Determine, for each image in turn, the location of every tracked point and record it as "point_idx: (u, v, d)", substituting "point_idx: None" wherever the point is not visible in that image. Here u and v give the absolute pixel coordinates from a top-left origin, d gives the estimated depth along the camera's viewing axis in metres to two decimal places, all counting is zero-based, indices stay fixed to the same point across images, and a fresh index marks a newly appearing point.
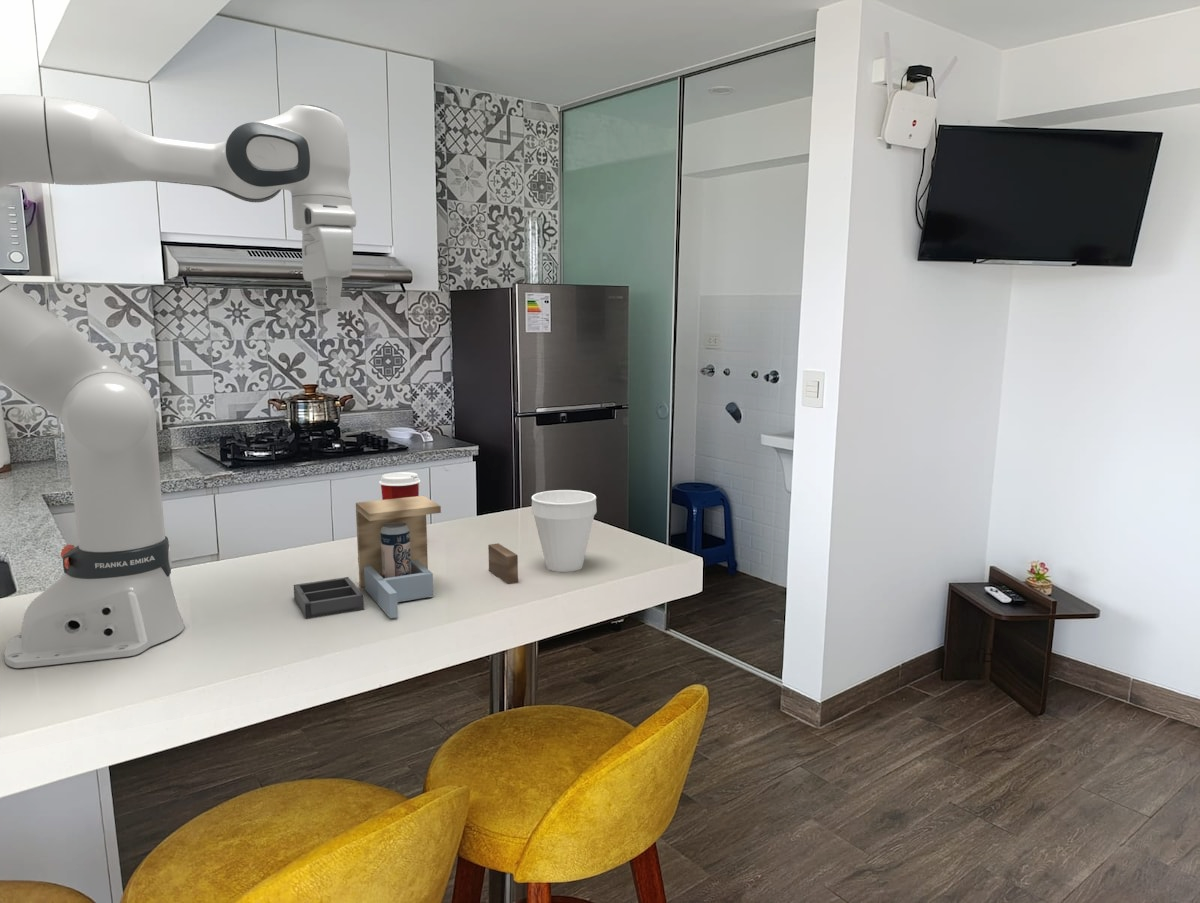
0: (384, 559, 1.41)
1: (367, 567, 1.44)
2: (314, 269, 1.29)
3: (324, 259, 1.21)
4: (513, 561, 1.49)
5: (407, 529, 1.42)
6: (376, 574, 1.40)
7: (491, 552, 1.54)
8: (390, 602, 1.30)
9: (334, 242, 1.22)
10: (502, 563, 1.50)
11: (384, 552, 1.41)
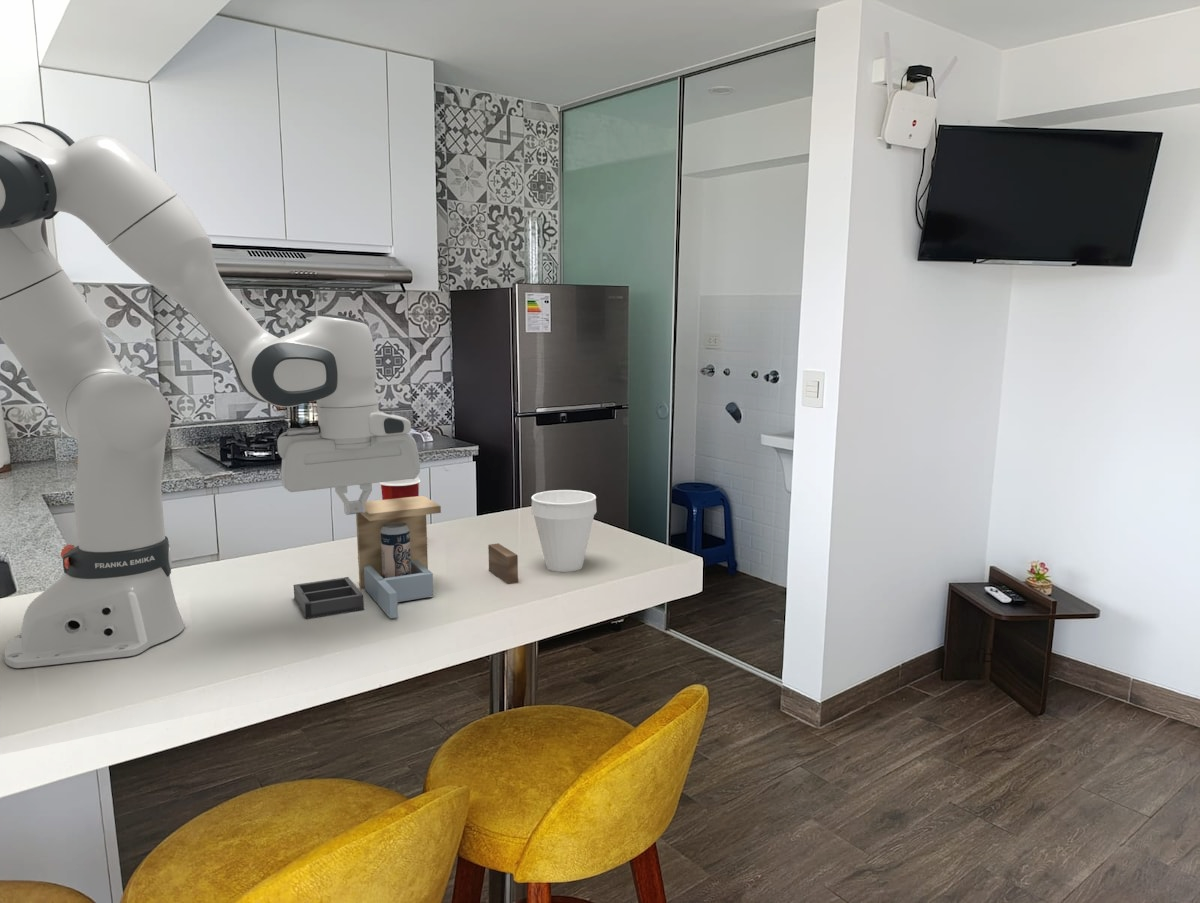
0: (384, 559, 1.41)
1: (367, 567, 1.44)
2: (360, 476, 1.26)
3: (418, 463, 1.30)
4: (513, 561, 1.49)
5: (407, 529, 1.42)
6: (376, 574, 1.40)
7: (491, 552, 1.54)
8: (390, 602, 1.30)
9: None
10: (502, 563, 1.50)
11: (384, 552, 1.41)
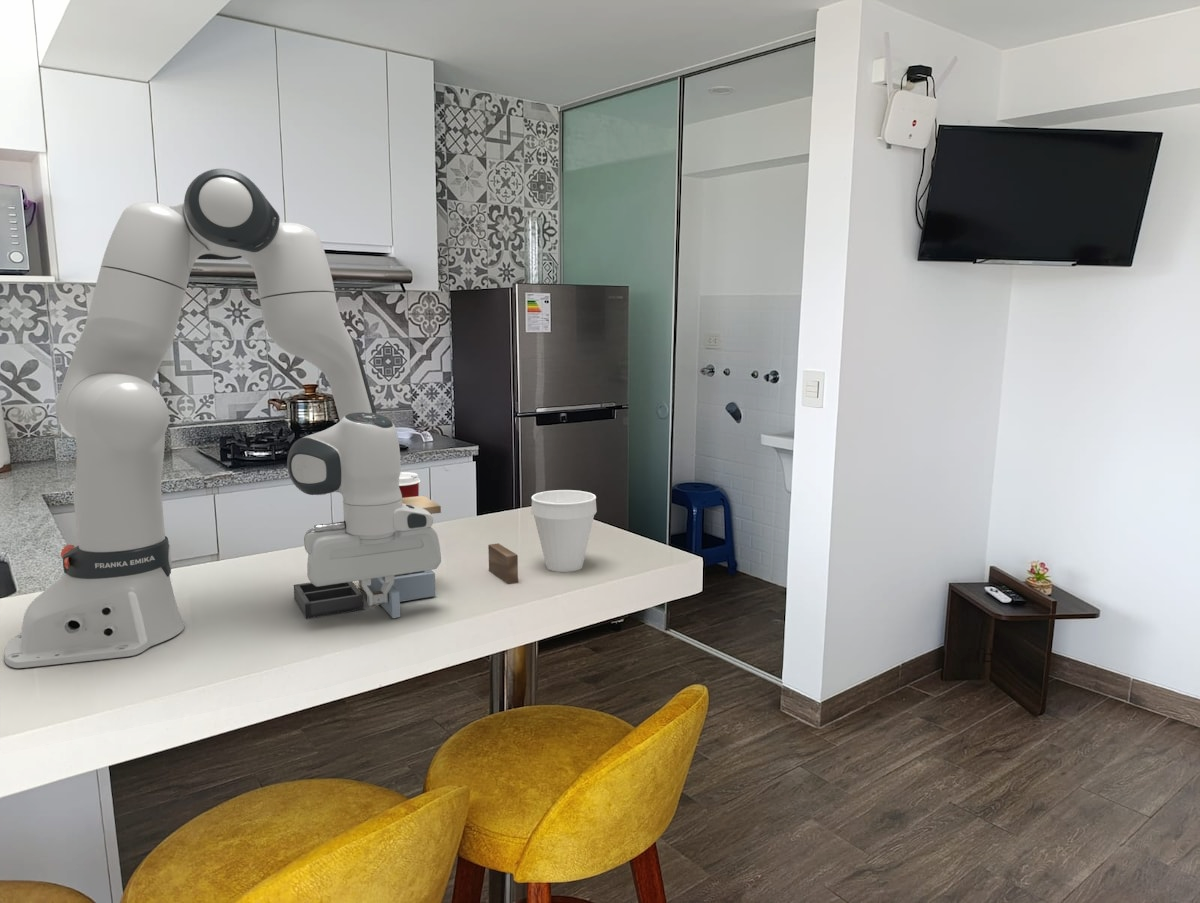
0: None
1: None
2: (383, 568, 1.30)
3: (439, 555, 1.33)
4: (513, 561, 1.49)
5: None
6: None
7: (491, 552, 1.54)
8: (392, 602, 1.30)
9: None
10: (502, 563, 1.50)
11: None
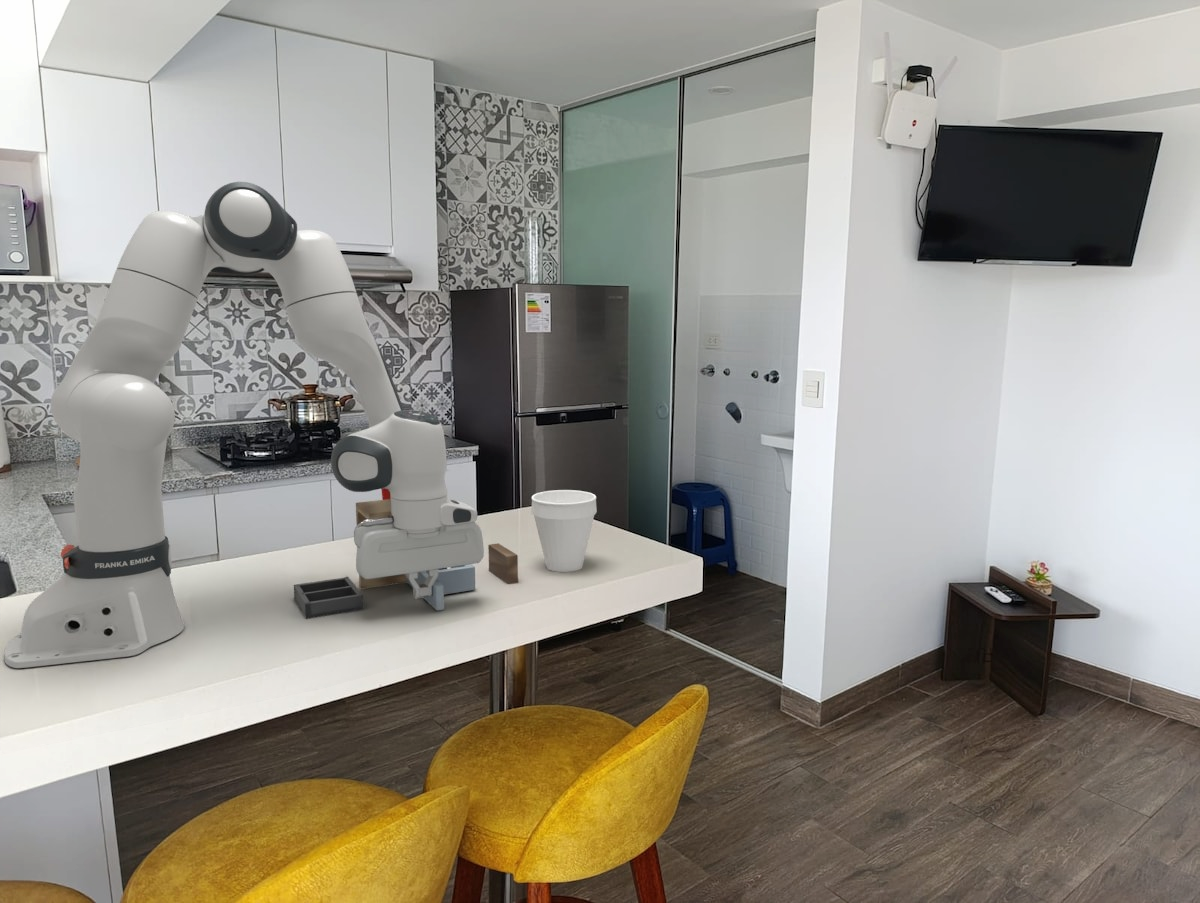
0: None
1: None
2: (429, 562, 1.33)
3: (482, 549, 1.37)
4: (513, 561, 1.49)
5: None
6: None
7: (491, 552, 1.54)
8: (437, 594, 1.34)
9: None
10: (502, 563, 1.50)
11: None
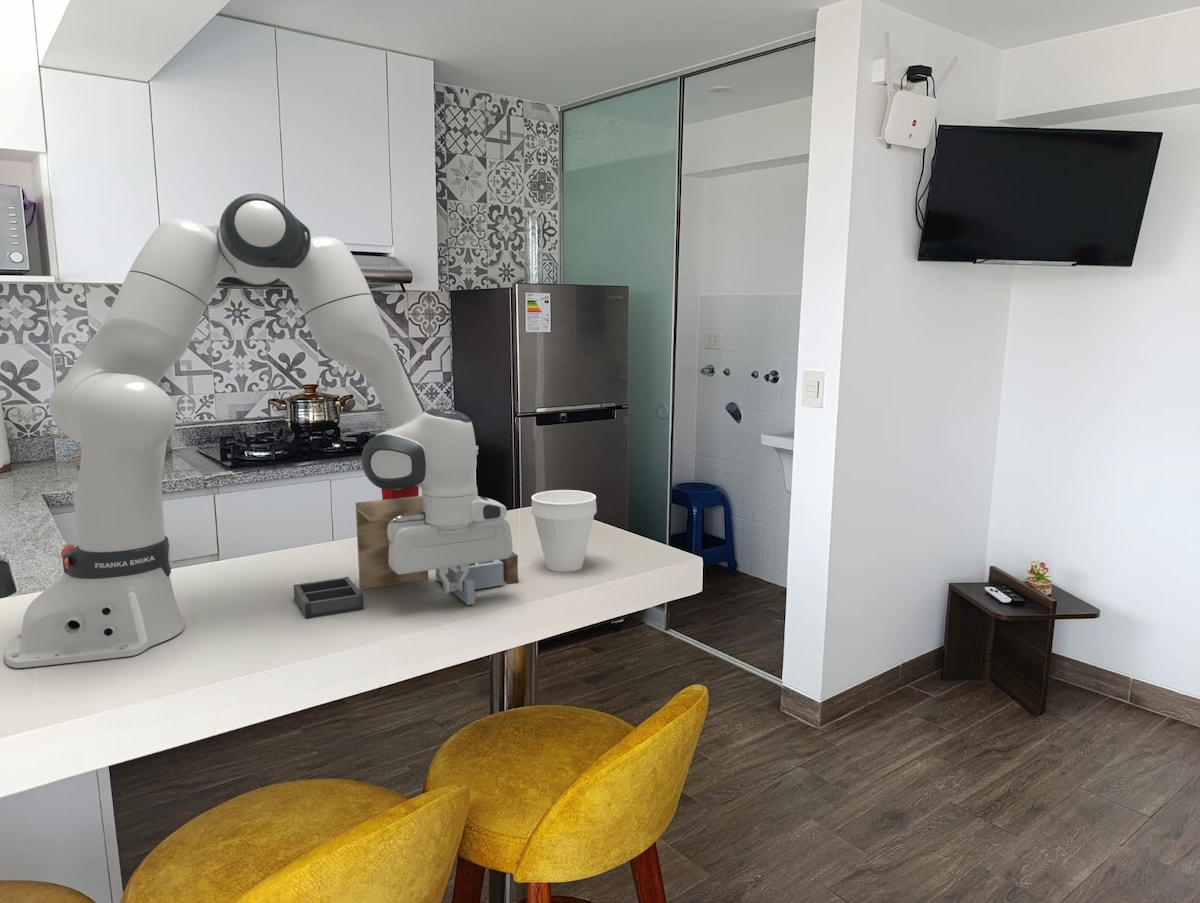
0: None
1: None
2: (460, 558, 1.35)
3: (511, 545, 1.39)
4: (513, 561, 1.49)
5: None
6: None
7: None
8: (468, 589, 1.36)
9: None
10: None
11: None
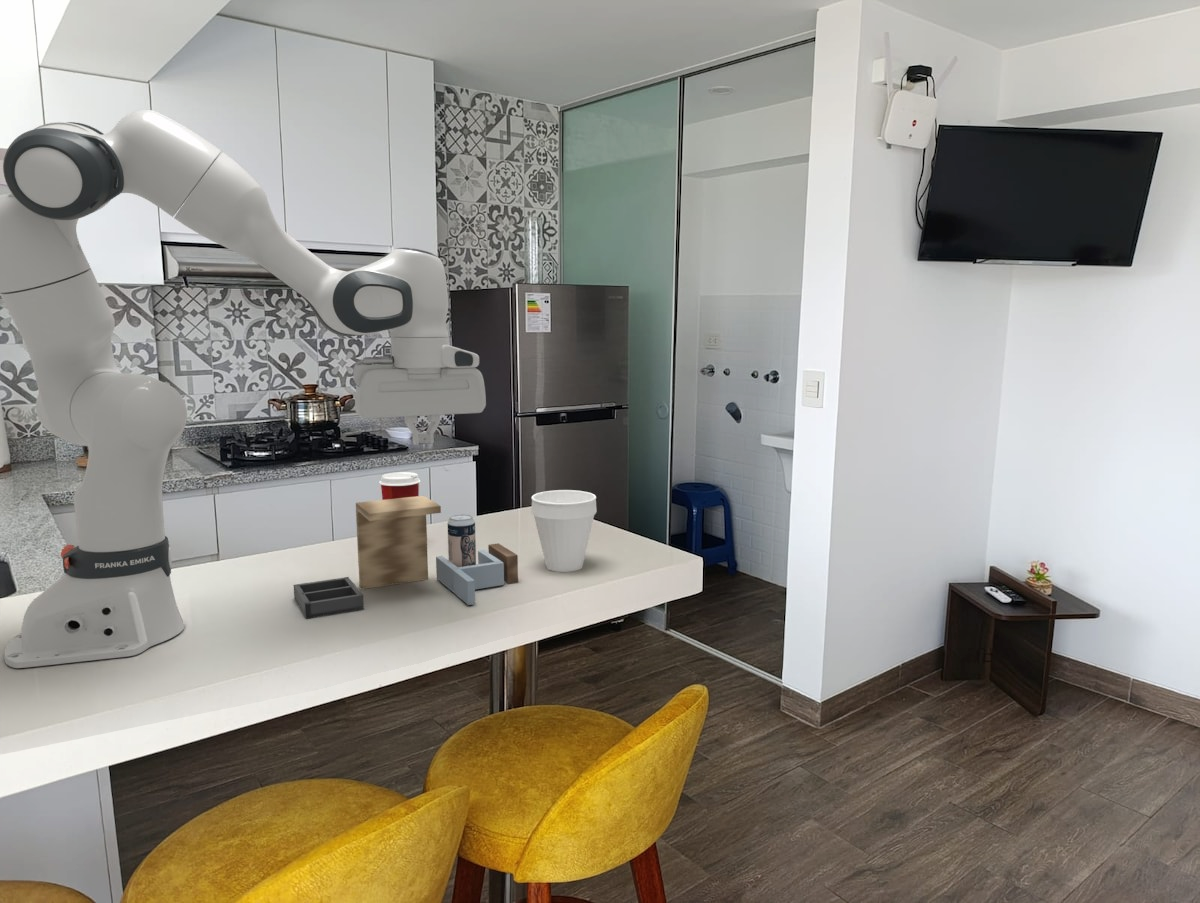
0: (451, 550, 1.47)
1: (439, 557, 1.50)
2: (430, 406, 1.30)
3: (484, 398, 1.34)
4: (513, 561, 1.49)
5: (473, 521, 1.47)
6: (450, 563, 1.46)
7: (491, 552, 1.54)
8: (468, 589, 1.36)
9: None
10: None
11: (451, 543, 1.46)
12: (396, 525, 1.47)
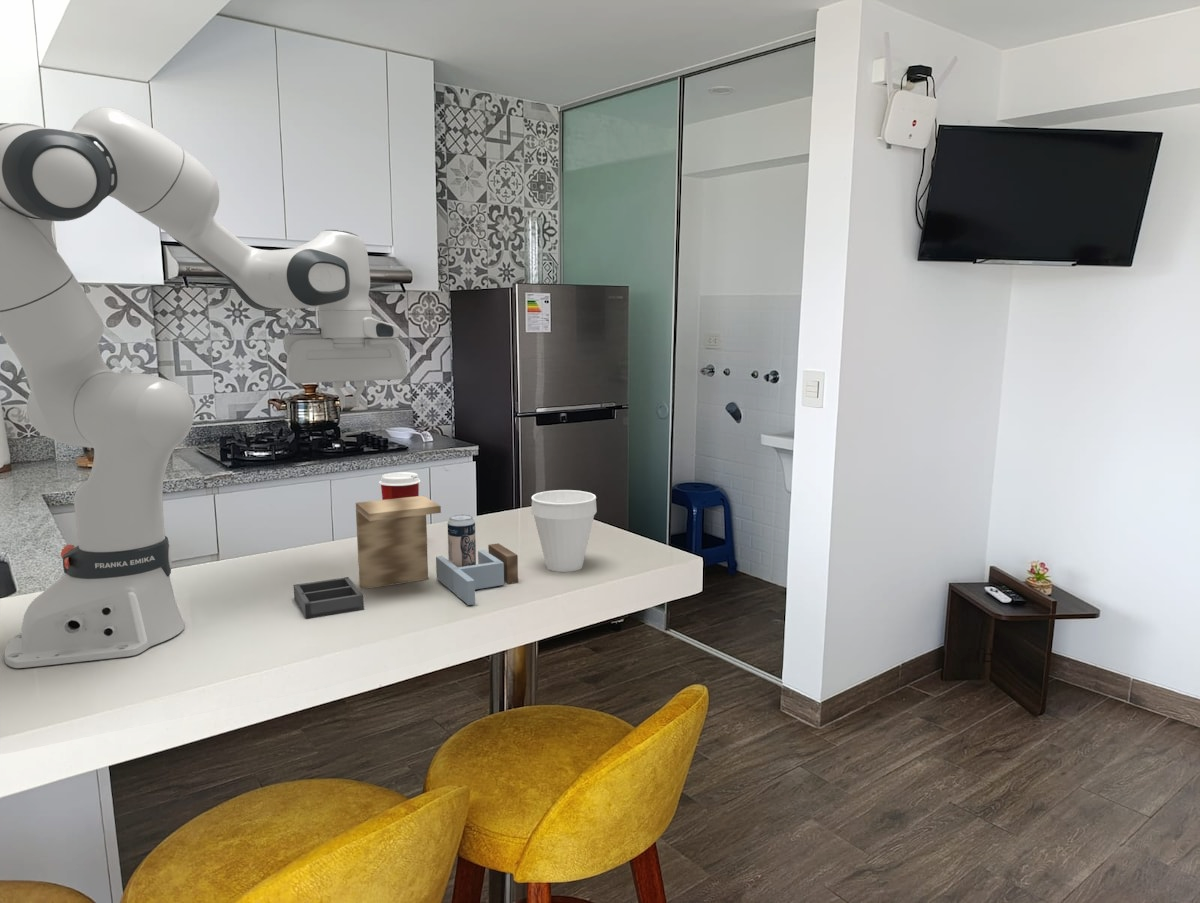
0: (451, 550, 1.47)
1: (439, 557, 1.50)
2: (355, 373, 1.45)
3: (405, 366, 1.49)
4: (513, 561, 1.49)
5: (473, 521, 1.47)
6: (450, 563, 1.46)
7: (491, 552, 1.54)
8: (468, 589, 1.36)
9: None
10: None
11: (451, 543, 1.46)
12: (396, 525, 1.47)
